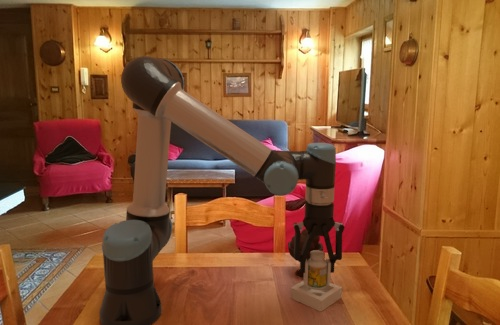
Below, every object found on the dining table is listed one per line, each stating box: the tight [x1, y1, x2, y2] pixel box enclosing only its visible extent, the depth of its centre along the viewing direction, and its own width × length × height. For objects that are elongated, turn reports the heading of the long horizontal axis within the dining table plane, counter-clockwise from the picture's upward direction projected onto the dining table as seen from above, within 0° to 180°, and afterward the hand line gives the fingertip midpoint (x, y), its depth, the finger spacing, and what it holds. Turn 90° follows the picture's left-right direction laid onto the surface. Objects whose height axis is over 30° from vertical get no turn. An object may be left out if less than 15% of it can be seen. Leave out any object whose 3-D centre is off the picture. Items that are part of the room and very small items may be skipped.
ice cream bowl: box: [287, 228, 324, 279], centre depth 128 cm, size 11×11×15 cm
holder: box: [290, 280, 343, 312], centre depth 115 cm, size 10×10×3 cm
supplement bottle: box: [308, 250, 327, 290], centre depth 113 cm, size 5×5×10 cm
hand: (316, 282), depth 114 cm, fingers closed on supplement bottle, 5 cm apart
